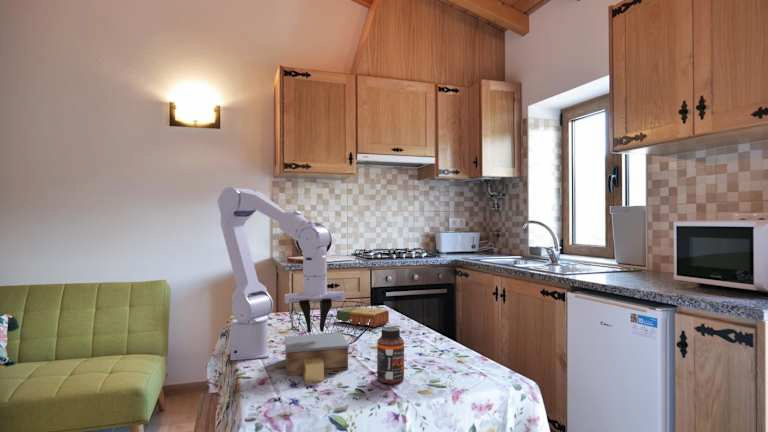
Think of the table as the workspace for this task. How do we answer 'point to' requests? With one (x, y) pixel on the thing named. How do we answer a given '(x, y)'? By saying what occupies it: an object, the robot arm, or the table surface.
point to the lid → (315, 342)
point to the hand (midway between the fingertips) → (315, 330)
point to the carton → (364, 316)
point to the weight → (313, 370)
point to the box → (330, 357)
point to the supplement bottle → (390, 356)
